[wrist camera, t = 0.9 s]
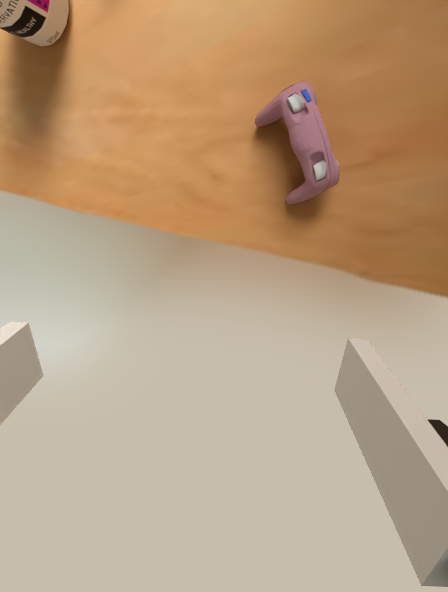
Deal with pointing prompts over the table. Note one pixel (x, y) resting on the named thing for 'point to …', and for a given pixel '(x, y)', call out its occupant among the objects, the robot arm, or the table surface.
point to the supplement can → (34, 19)
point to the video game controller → (304, 139)
